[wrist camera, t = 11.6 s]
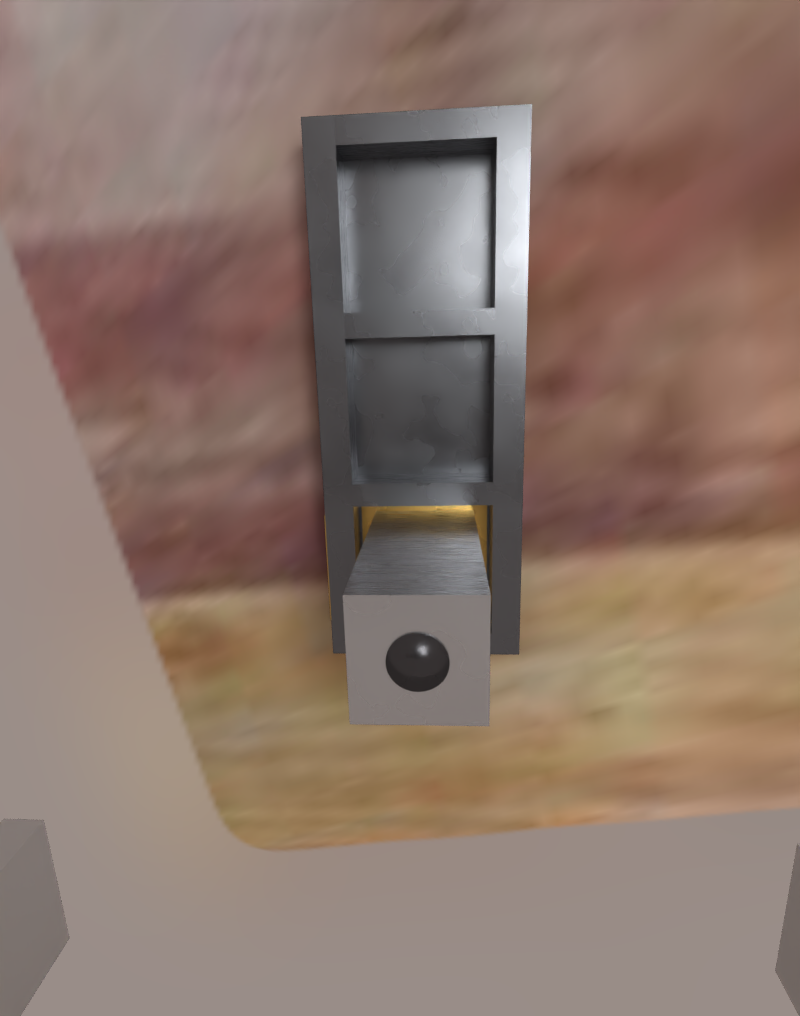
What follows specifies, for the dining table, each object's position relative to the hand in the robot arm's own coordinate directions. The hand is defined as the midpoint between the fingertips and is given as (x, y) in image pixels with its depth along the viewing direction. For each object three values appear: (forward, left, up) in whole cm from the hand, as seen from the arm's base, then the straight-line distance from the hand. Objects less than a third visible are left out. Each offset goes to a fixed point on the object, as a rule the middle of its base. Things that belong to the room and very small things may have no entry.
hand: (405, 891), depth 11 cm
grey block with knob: (0, 0, -19) cm, 19 cm away
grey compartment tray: (-7, 0, -19) cm, 20 cm away
